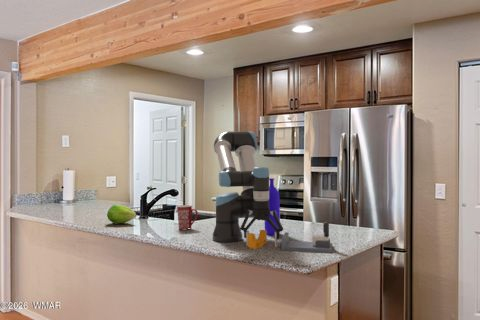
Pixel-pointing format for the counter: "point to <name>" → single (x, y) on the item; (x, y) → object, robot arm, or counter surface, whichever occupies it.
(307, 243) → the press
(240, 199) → the robot arm
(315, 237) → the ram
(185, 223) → the mug
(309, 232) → the counter surface
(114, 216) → the green papaya
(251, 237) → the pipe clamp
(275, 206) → the bottle
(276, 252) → the counter surface
